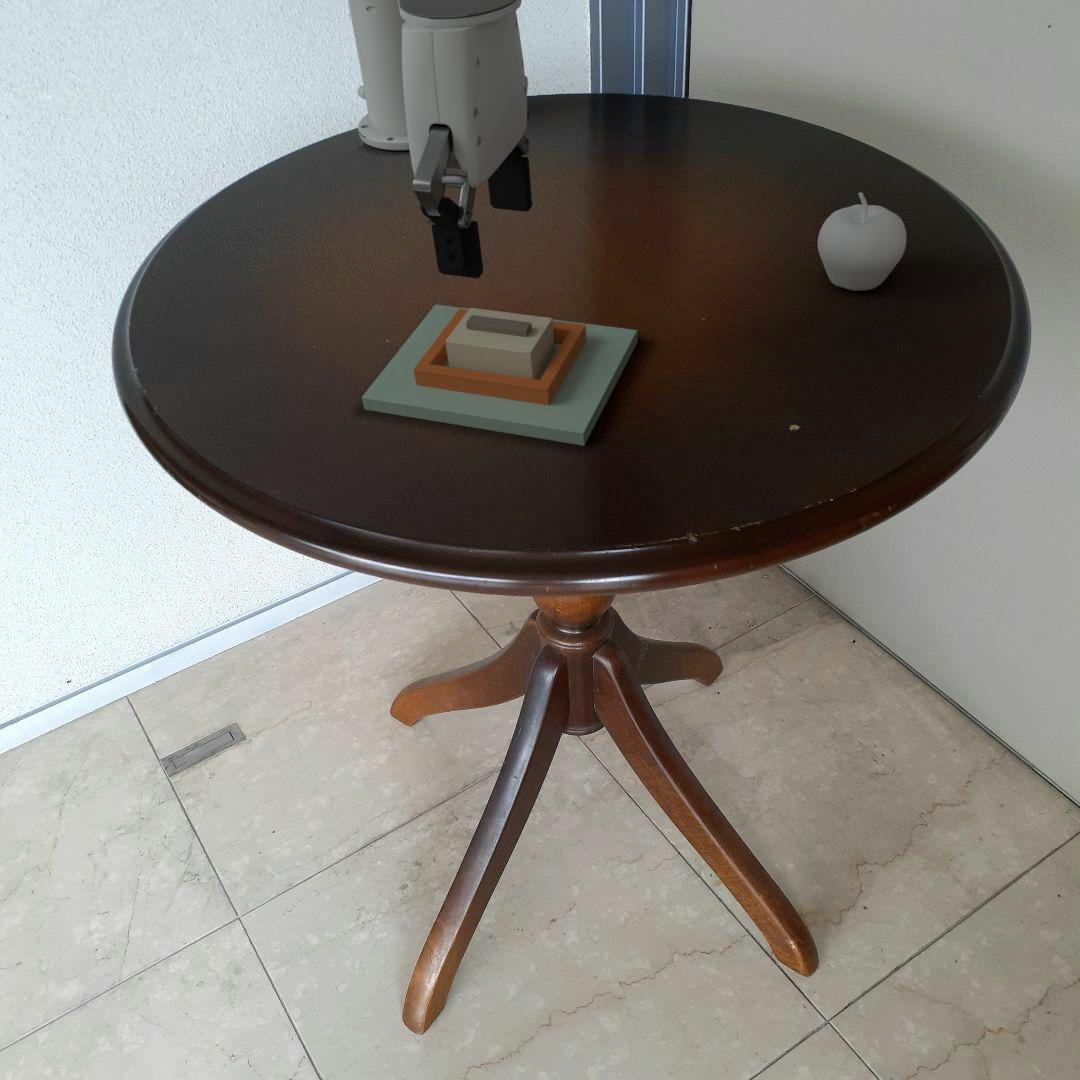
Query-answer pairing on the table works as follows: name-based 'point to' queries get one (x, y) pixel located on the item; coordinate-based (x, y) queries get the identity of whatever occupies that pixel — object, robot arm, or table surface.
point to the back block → (501, 343)
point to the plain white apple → (861, 245)
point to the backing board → (505, 382)
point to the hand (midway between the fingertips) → (487, 239)
